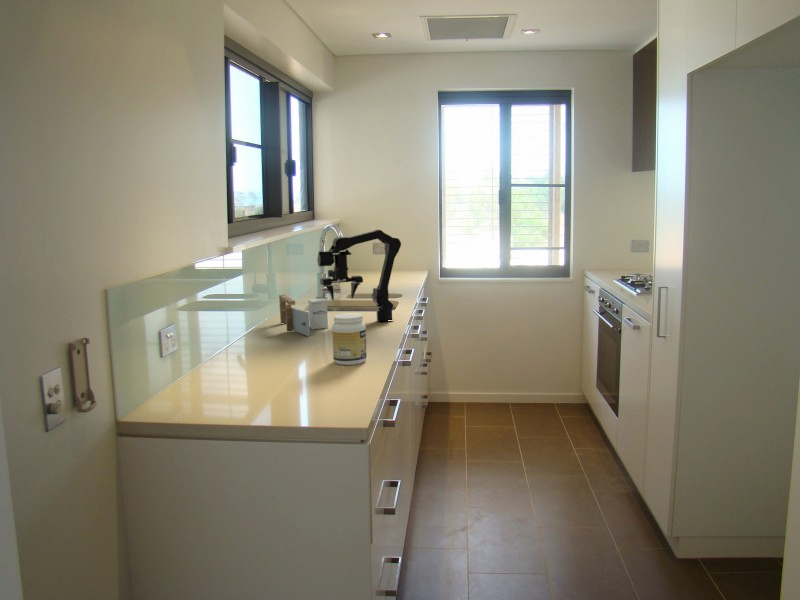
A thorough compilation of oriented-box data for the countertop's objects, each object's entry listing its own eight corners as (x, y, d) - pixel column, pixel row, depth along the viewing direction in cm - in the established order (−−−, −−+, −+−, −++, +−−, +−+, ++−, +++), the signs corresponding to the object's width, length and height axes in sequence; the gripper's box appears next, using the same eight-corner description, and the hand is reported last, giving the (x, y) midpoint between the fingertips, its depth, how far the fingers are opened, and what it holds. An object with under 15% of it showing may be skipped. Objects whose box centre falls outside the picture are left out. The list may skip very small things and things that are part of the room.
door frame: (296, 331, 309) (295, 301, 307) (287, 332, 308) (285, 301, 306) (285, 323, 330) (284, 294, 327) (277, 323, 328) (275, 295, 326)
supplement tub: (367, 365, 247) (365, 317, 244) (333, 366, 246) (330, 319, 243) (366, 356, 259) (364, 311, 256) (333, 358, 258) (331, 313, 255)
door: (289, 330, 310) (288, 308, 308) (294, 329, 311) (293, 307, 309) (304, 336, 296) (303, 313, 295) (309, 335, 297) (308, 312, 296)
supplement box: (312, 329, 312) (310, 301, 310) (309, 326, 319) (308, 299, 317) (328, 328, 314) (327, 300, 312) (325, 325, 321) (324, 298, 319)
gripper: (355, 262, 327) (356, 295, 330) (316, 265, 320) (317, 298, 323) (362, 264, 317) (364, 298, 319) (322, 267, 310) (324, 301, 313)
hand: (342, 299), depth 319 cm, fingers open, 9 cm apart
